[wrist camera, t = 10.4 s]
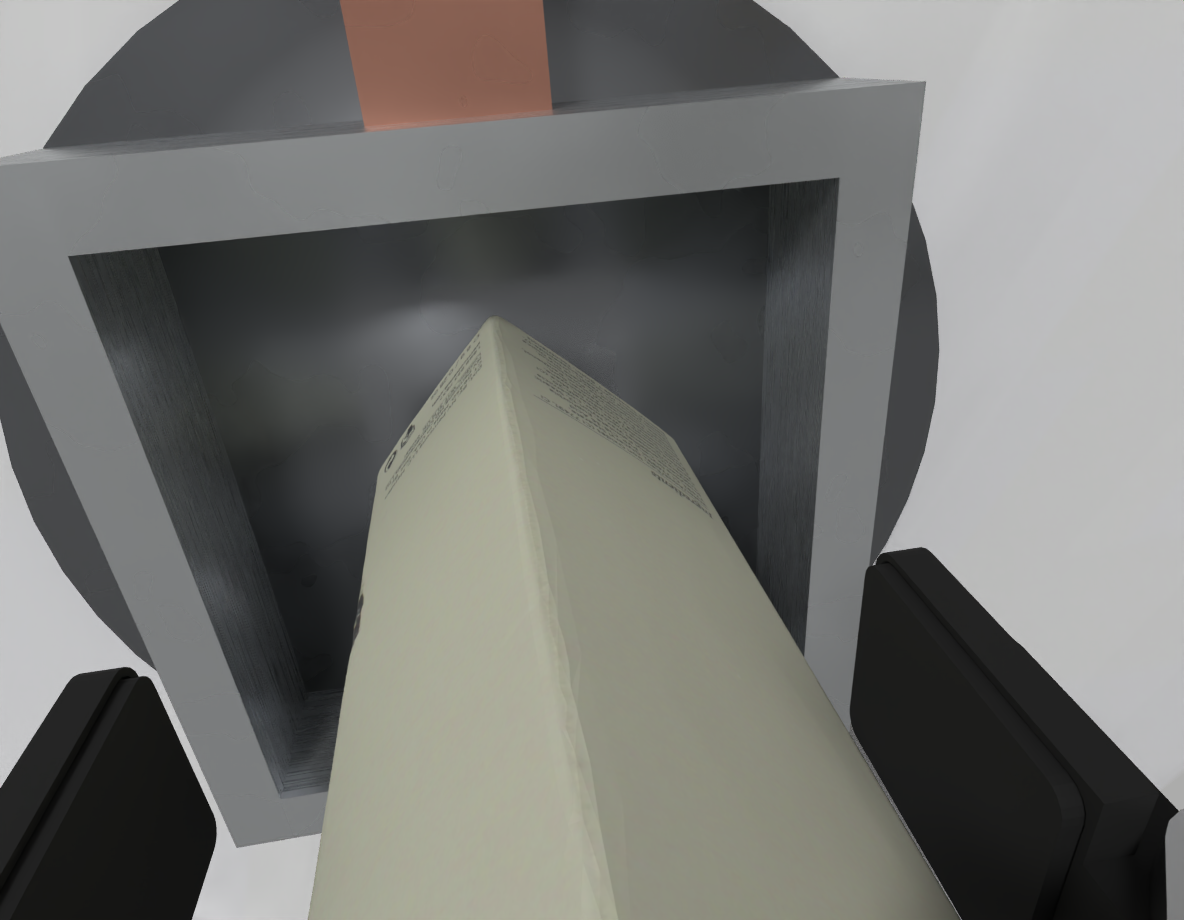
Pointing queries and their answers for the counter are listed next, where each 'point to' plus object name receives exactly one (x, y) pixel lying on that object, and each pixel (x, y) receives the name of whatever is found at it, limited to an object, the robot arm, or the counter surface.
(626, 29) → the disc with square frame
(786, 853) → the box
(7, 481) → the counter surface
